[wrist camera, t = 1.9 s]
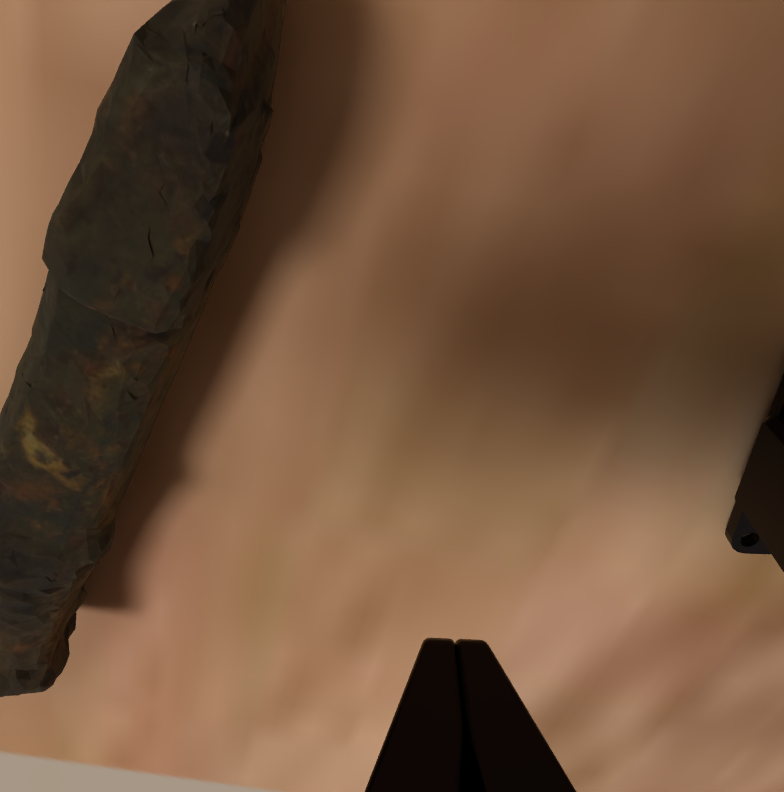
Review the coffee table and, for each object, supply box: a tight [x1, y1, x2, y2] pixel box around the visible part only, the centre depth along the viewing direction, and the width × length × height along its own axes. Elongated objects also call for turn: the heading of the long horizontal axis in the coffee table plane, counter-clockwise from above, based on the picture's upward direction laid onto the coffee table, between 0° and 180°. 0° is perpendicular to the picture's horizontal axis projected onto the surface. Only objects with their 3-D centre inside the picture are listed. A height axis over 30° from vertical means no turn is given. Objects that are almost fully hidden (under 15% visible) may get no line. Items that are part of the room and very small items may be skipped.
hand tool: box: [0, 0, 286, 697], centre depth 15 cm, size 19×4×5 cm, turn 148°
